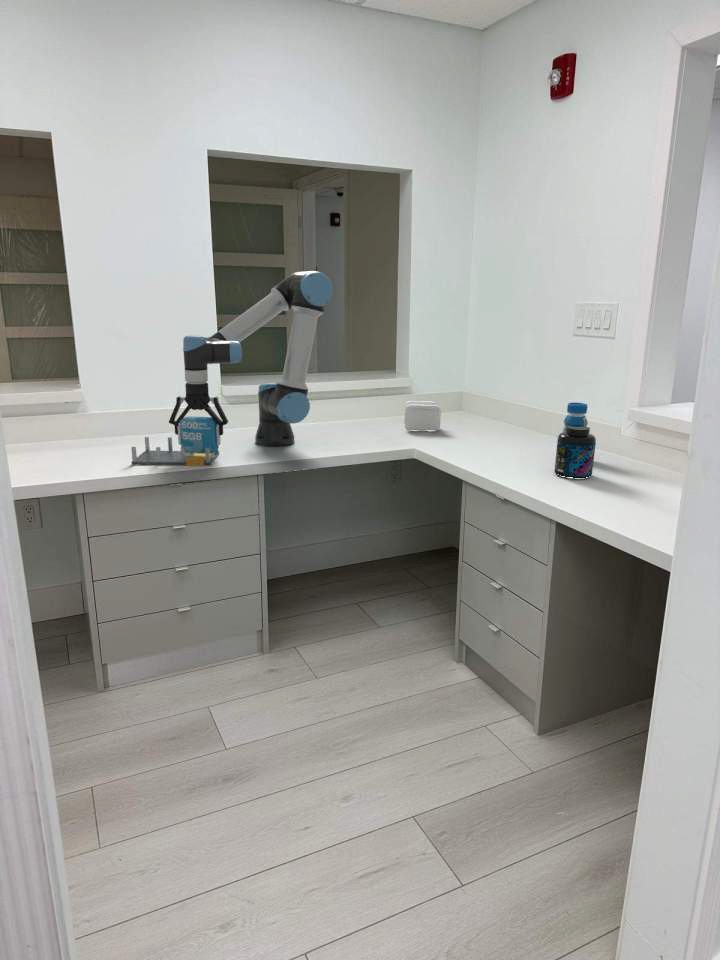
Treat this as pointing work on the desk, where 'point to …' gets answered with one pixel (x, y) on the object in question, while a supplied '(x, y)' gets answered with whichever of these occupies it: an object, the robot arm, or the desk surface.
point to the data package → (198, 434)
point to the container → (575, 452)
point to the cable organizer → (422, 415)
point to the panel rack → (172, 456)
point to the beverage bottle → (575, 415)
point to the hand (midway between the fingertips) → (199, 444)
